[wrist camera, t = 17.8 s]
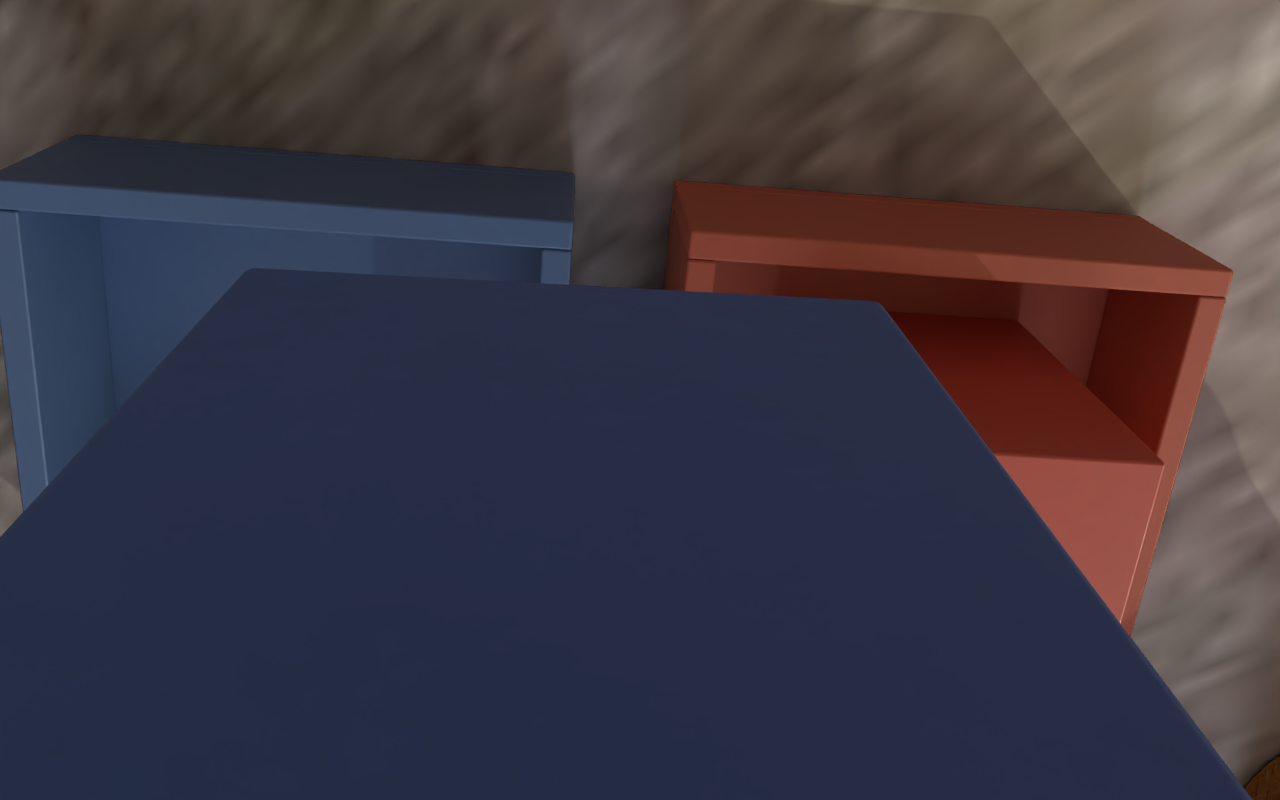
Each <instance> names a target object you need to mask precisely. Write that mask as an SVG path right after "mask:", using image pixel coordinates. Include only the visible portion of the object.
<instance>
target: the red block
mask: <svg viewBox="0 0 1280 800" xmlns="http://www.w3.org/2000/svg"><path fill="white" fill-rule="evenodd" d="M888 314H889V315H890V317H891V318H892V319H893V321H894V322H895V323H896V325H897V326H898V327H899V329H900V330H901V331H902V333H903V334H904V335H905V337H906V338H907V339H908V341H909V342H910V343H911V345H912V346H913V347H914V349H915V350H916V351H917V353H918V354H919V355H920V357H921V358H922V359H923V361H924V362H925V363H926V365H927V366H928V367H929V369H930V370H931V371H932V373H933V374H934V375H935V377H936V378H937V379H938V381H939V382H940V383H941V385H942V386H943V387H944V389H945V390H946V391H947V393H948V394H949V395H950V397H951V398H952V399H953V401H954V402H955V403H956V405H957V406H958V407H959V409H960V410H961V411H962V413H963V414H964V415H965V417H966V418H967V419H968V421H969V422H970V423H971V425H972V426H973V427H974V429H975V430H976V431H977V433H978V434H979V435H980V437H981V438H982V439H983V441H984V442H985V443H986V445H987V446H988V447H989V449H990V450H991V451H992V453H993V454H994V455H995V457H996V458H997V459H998V461H999V462H1000V463H1001V465H1002V466H1003V467H1004V469H1005V470H1006V471H1007V473H1008V474H1009V475H1010V477H1011V478H1012V479H1013V481H1014V482H1015V483H1016V485H1017V486H1018V487H1019V489H1020V490H1021V491H1022V493H1023V494H1024V495H1025V497H1026V498H1027V499H1028V501H1029V502H1030V503H1031V505H1032V506H1033V507H1034V509H1035V510H1036V512H1037V513H1038V514H1039V516H1040V517H1041V518H1042V520H1043V521H1044V522H1045V524H1046V525H1047V526H1048V528H1049V529H1050V530H1051V532H1052V533H1053V534H1054V536H1055V537H1056V538H1057V540H1058V541H1059V542H1060V544H1061V545H1062V546H1063V548H1064V549H1065V550H1066V552H1067V553H1068V554H1069V556H1070V557H1071V558H1072V560H1073V561H1074V562H1075V564H1076V565H1077V566H1078V568H1079V569H1080V570H1081V572H1082V573H1083V574H1084V576H1085V577H1086V578H1087V580H1088V581H1089V582H1090V584H1091V585H1092V586H1093V588H1094V589H1095V590H1096V592H1097V593H1098V594H1099V596H1100V597H1101V598H1102V600H1103V601H1104V602H1105V604H1106V605H1107V606H1108V608H1109V609H1110V610H1111V612H1112V613H1113V614H1114V616H1115V617H1116V618H1117V620H1118V621H1119V622H1120V624H1121V621H1122V618H1123V614H1124V611H1125V607H1126V603H1127V600H1128V596H1129V593H1130V589H1131V586H1132V582H1133V578H1134V575H1135V571H1136V568H1137V564H1138V561H1139V557H1140V553H1141V550H1142V546H1143V543H1144V539H1145V535H1146V532H1147V528H1148V525H1149V521H1150V518H1151V514H1152V510H1153V507H1154V503H1155V500H1156V496H1157V493H1158V489H1159V485H1160V482H1161V478H1162V475H1163V471H1164V467H1165V463H1164V462H1163V461H1162V460H1161V459H1160V458H1159V457H1158V456H1157V455H1156V454H1155V453H1154V452H1153V451H1152V450H1151V449H1150V448H1149V447H1148V446H1147V445H1146V444H1145V443H1143V442H1142V441H1141V440H1140V439H1139V438H1138V437H1137V436H1136V435H1135V434H1134V433H1133V432H1132V431H1131V430H1130V429H1129V428H1128V427H1127V426H1126V425H1125V424H1124V423H1123V422H1122V421H1121V420H1120V419H1119V418H1118V417H1117V416H1116V415H1115V414H1114V413H1113V412H1112V411H1111V410H1109V409H1108V408H1107V407H1106V406H1105V405H1104V404H1103V403H1102V402H1101V401H1100V400H1099V399H1098V398H1097V397H1096V396H1095V395H1094V394H1093V393H1092V392H1091V391H1090V390H1089V389H1088V388H1087V387H1086V386H1085V385H1084V384H1083V383H1082V382H1081V381H1080V380H1079V379H1078V378H1077V377H1075V376H1074V375H1073V374H1072V373H1071V372H1070V371H1069V370H1068V369H1067V368H1066V367H1065V366H1064V365H1063V364H1062V363H1061V362H1060V361H1059V360H1058V359H1057V358H1056V357H1055V356H1054V355H1053V354H1052V353H1051V352H1050V351H1049V350H1048V349H1047V348H1046V347H1045V346H1044V345H1043V344H1041V343H1040V342H1039V341H1038V340H1037V339H1036V338H1035V337H1034V336H1033V335H1032V334H1031V333H1030V332H1029V331H1028V330H1027V329H1026V328H1025V327H1024V326H1023V325H1022V324H1021V323H1020V322H1019V321H1016V320H1001V319H987V318H973V317H958V316H944V315H930V314H915V313H901V312H888Z"/></svg>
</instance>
